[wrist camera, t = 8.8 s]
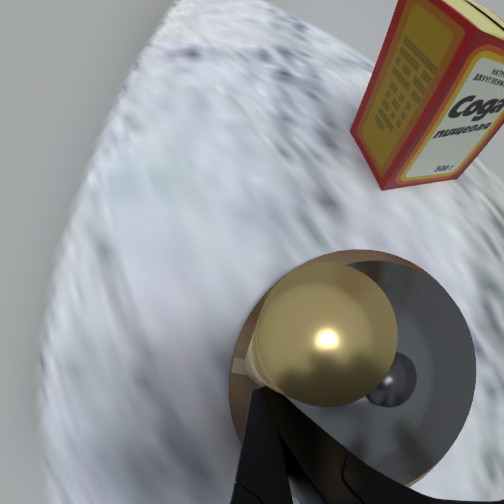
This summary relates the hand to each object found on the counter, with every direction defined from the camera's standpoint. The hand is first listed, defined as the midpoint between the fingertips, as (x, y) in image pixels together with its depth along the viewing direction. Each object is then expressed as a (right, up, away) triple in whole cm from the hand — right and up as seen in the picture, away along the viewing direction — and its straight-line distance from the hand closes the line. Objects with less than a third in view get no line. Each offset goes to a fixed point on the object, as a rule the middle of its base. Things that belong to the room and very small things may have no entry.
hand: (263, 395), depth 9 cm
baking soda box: (+14, +13, +17) cm, 25 cm away
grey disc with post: (+6, -3, +8) cm, 11 cm away
